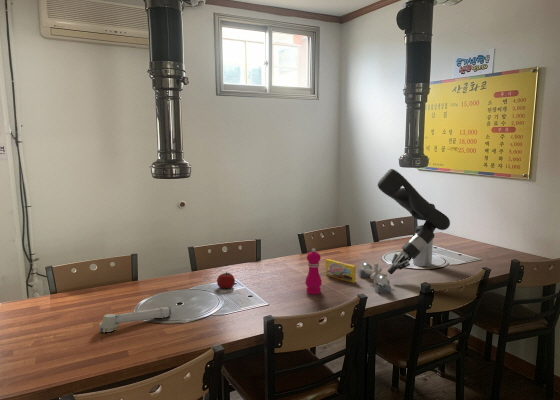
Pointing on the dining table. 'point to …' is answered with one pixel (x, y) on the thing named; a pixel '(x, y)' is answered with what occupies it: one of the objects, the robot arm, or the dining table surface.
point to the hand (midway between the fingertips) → (389, 272)
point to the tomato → (226, 280)
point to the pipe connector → (375, 272)
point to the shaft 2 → (382, 285)
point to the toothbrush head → (132, 317)
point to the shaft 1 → (362, 273)
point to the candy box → (340, 270)
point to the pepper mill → (313, 273)
